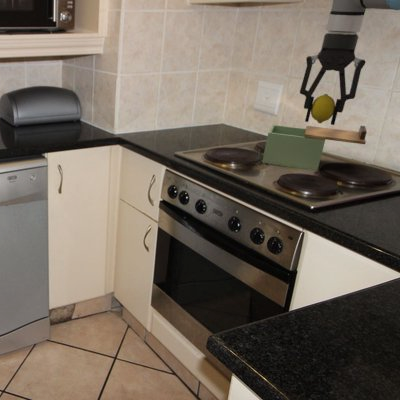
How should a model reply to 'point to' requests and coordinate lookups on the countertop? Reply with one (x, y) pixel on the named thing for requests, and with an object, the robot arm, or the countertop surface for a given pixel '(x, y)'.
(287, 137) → the caddy
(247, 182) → the countertop surface
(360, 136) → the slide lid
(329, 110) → the lemon
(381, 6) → the robot arm
